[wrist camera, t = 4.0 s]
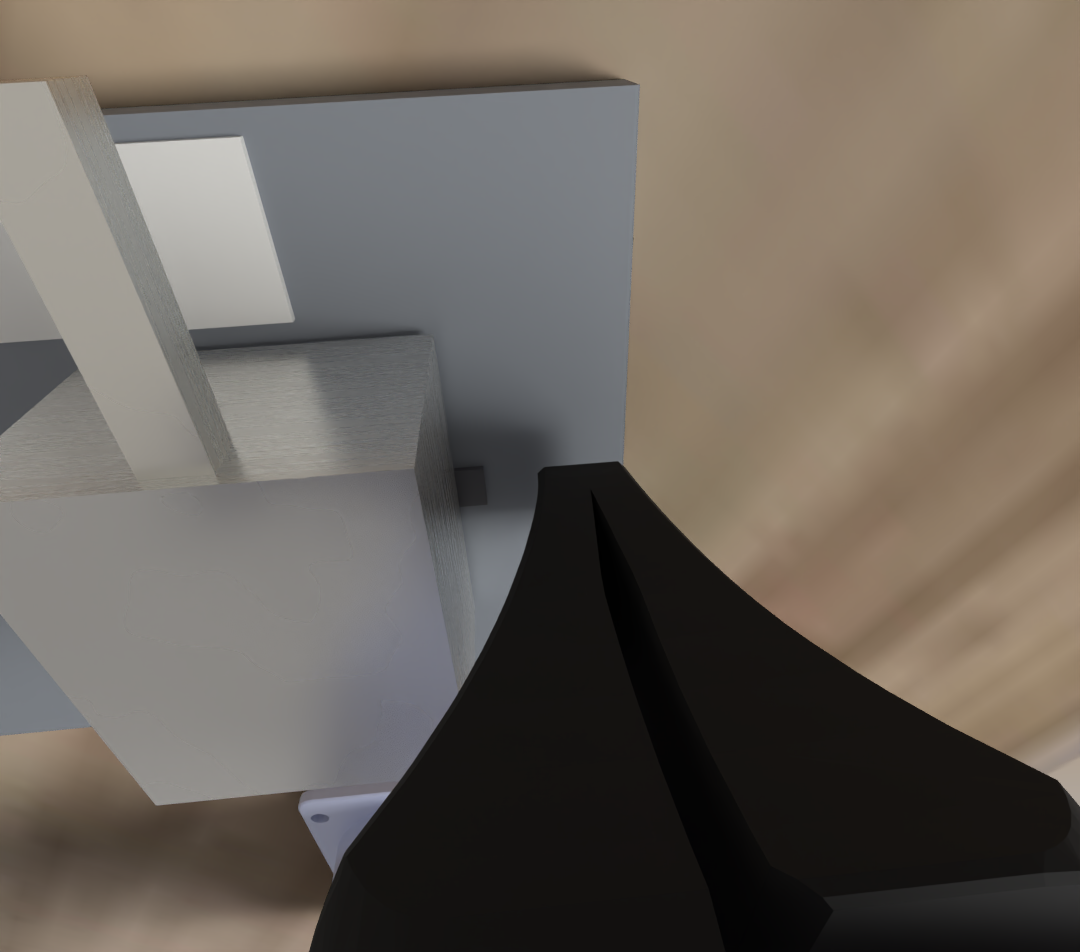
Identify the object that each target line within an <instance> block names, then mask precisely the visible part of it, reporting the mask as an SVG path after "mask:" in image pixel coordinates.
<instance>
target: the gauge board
mask: <svg viewBox="0 0 1080 952" xmlns="http://www.w3.org/2000/svg"><path fill="white" fill-rule="evenodd" d="M639 90H640V85H639V84H636V83H633V82H631V81H628V80H625V79H618V80H601V81H583V82H565V83H548V84H530V85H512V86H495V87H477V88H459V89H442V90H424V91H406V92H389V93H371V94H353V95H336V96H318V97H300V98H283V99H265V100H247V101H230V102H212V103H194V104H177V105H159V106H141V107H124V108H106V109H101V111H102V113H103V116H104V118H105V121H106V123H107V126H108V128H109V131H110V134H111V136H112V139H113V141H114V144H115V146H116V149H117V151H118V154H119V156H120V159H121V161H122V164H123V166H124V169H125V171H126V174H127V176H128V179H129V182H130V184H131V187H132V189H133V192H134V194H135V197H136V199H137V202H138V204H139V207H140V209H141V212H142V214H143V217H144V219H145V222H146V224H147V227H148V230H149V232H150V235H151V237H152V240H153V242H154V245H155V247H156V250H157V252H158V255H159V257H160V260H161V262H162V265H163V267H164V270H165V273H166V275H167V278H168V280H169V283H170V285H171V288H172V290H173V293H174V295H175V298H176V300H177V303H178V305H179V308H180V310H181V313H182V315H183V318H184V321H185V323H186V326H187V328H188V331H189V333H190V336H191V338H192V341H193V343H194V346H195V348H196V351H203V350H217V349H231V348H245V347H258V346H272V345H286V344H300V343H313V342H327V341H341V340H355V339H369V338H382V337H396V336H410V335H424V334H433V336H434V343H435V349H436V356H437V362H438V369H439V375H440V382H441V389H442V395H443V402H444V408H445V415H446V422H447V428H448V435H449V441H450V448H451V454H452V461H453V468H454V474H455V481H456V487H457V494H458V501H459V507H460V514H461V520H462V527H463V533H464V540H465V547H466V553H467V560H468V566H469V573H470V580H471V586H472V593H473V599H474V606H475V662H476V660H477V658H478V657H479V655H480V653H481V651H482V649H483V647H484V645H485V643H486V641H487V639H488V637H489V635H490V633H491V631H492V629H493V627H494V625H495V623H496V621H497V619H498V616H499V614H500V612H501V610H502V607H503V605H504V603H505V601H506V598H507V596H508V593H509V591H510V588H511V586H512V583H513V580H514V578H515V575H516V572H517V570H518V567H519V564H520V562H521V559H522V556H523V553H524V550H525V546H526V543H527V539H528V536H529V532H530V528H531V525H532V521H533V517H534V512H535V507H536V502H537V495H538V474H537V473H538V472H539V471H540V470H541V469H543V468H544V467H550V466H563V465H575V464H588V463H601V462H614V461H618V462H620V463H621V464H622V465H623V454H624V431H625V409H626V386H627V363H628V340H629V318H630V295H631V272H632V249H633V227H634V204H635V181H636V158H637V135H638V113H639ZM77 369H78V367H77V365H76V363H75V361H74V359H73V357H72V355H71V353H70V352H69V350H68V348H67V346H66V344H65V342H64V340H63V338H62V336H61V334H60V333H59V331H58V329H57V327H56V325H55V323H54V321H53V319H52V317H51V315H50V314H49V312H48V310H47V308H46V306H45V304H44V302H43V300H42V298H41V296H40V294H39V293H38V291H37V289H36V287H35V285H34V283H33V281H32V279H31V277H30V275H29V274H28V272H27V270H26V268H25V266H24V264H23V262H22V260H21V258H20V256H19V255H18V253H17V251H16V249H15V247H14V245H13V243H12V241H11V239H10V237H9V235H8V234H7V232H6V230H5V228H4V226H3V224H2V222H1V220H0V436H1V435H2V434H3V433H4V432H5V431H6V430H7V429H9V428H10V427H11V426H12V425H13V424H14V423H16V422H17V421H18V420H19V419H20V418H21V417H23V416H24V415H25V414H26V413H27V412H28V411H29V410H31V409H32V408H33V407H34V406H35V405H36V404H38V403H39V402H40V401H41V400H42V399H43V398H45V397H46V396H47V395H48V394H49V393H50V392H51V391H53V390H54V389H55V388H56V387H57V386H58V385H60V384H61V383H62V382H63V381H64V380H65V379H67V378H68V377H69V376H70V375H71V374H72V373H73V372H75V371H76V370H77ZM84 727H92V726H91V725H90V724H89V723H88V721H87V720H86V719H85V718H84V716H83V715H82V714H81V713H80V712H79V710H78V709H77V708H76V707H75V705H74V704H73V703H72V702H71V700H70V699H69V698H68V697H67V696H66V694H65V693H64V692H63V691H62V689H61V688H60V687H59V686H58V685H57V683H56V682H55V681H54V680H53V678H52V677H51V676H50V675H49V673H48V672H47V671H46V670H45V669H44V667H43V666H42V665H41V664H40V662H39V661H38V660H37V659H36V657H35V656H34V655H33V654H32V653H31V651H30V650H29V649H28V648H27V646H26V645H25V644H24V643H23V641H22V640H21V639H20V638H19V637H18V635H17V634H16V633H15V632H14V630H13V629H12V628H11V627H10V626H9V624H8V623H7V622H6V621H5V619H4V618H3V617H2V616H1V614H0V736H1V735H12V734H22V733H32V732H43V731H53V730H64V729H74V728H84Z"/></svg>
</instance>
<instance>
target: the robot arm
mask: <svg viewBox="0 0 1080 952" xmlns="http://www.w3.org/2000/svg"><path fill="white" fill-rule="evenodd" d="M537 474H538V495H537V502H536V507H535V512H534V517H533V521H532V525H531V528H530V532H529V536H528V539H527V543H526V546H525V550H524V553H523V556H522V559H521V562H520V564H519V567H518V570H517V572H516V575H515V578H514V580H513V583H512V586H511V588H510V591H509V593H508V596H507V598H506V601H505V603H504V605H503V607H502V610H501V612H500V614H499V616H498V619H497V621H496V623H495V625H494V627H493V629H492V631H491V633H490V635H489V637H488V639H487V641H486V643H485V645H484V647H483V649H482V651H481V653H480V655H479V657H478V658H477V660H476V662H475V664H474V666H473V667H472V669H471V671H470V673H469V675H468V677H467V678H466V680H465V682H464V684H463V685H462V687H461V689H460V690H459V692H458V694H457V696H456V697H455V699H454V701H453V702H452V704H451V705H450V707H449V709H448V710H447V712H446V713H445V715H444V716H443V718H442V719H441V721H440V722H439V724H438V725H437V727H436V728H435V730H434V731H433V733H432V734H431V736H430V737H429V739H428V740H427V742H426V743H425V745H424V746H423V748H422V749H421V751H420V752H419V754H418V755H417V757H416V758H415V760H414V761H413V763H412V764H411V766H410V767H409V768H408V770H407V771H406V773H405V774H404V775H403V777H402V778H401V780H400V781H393V782H384V783H374V784H364V785H354V786H344V787H334V788H325V789H315V790H308V791H306V792H304V793H303V794H302V795H301V796H300V801H299V805H298V810H299V812H300V814H301V816H302V817H303V819H304V821H305V823H306V825H307V826H308V828H309V830H310V832H311V834H312V836H313V837H314V839H315V841H316V843H317V845H318V847H319V848H320V850H321V852H322V854H323V856H324V857H325V859H326V861H327V863H328V865H329V867H330V868H331V870H332V872H333V880H332V884H331V887H330V890H329V892H328V895H327V897H326V900H325V903H324V906H323V909H322V911H321V914H320V917H319V920H318V923H317V926H316V929H315V932H314V936H313V940H312V943H311V947H310V950H309V952H1080V806H1079V805H1078V804H1077V803H1076V802H1075V800H1074V799H1073V798H1072V797H1071V796H1070V794H1069V793H1068V792H1067V791H1066V790H1065V789H1064V788H1063V786H1062V785H1061V784H1060V783H1059V782H1058V781H1057V780H1056V779H1054V778H1052V777H1050V776H1048V775H1046V774H1044V773H1042V772H1040V771H1038V770H1036V769H1034V768H1032V767H1030V766H1028V765H1026V764H1024V763H1022V762H1020V761H1018V760H1016V759H1014V758H1012V757H1010V756H1008V755H1006V754H1004V753H1002V752H1000V751H998V750H996V749H994V748H992V747H990V746H988V745H986V744H984V743H982V742H980V741H978V740H976V739H974V738H972V737H970V736H968V735H966V734H964V733H962V732H960V731H958V730H956V729H954V728H952V727H951V726H949V725H947V724H945V723H943V722H941V721H940V720H938V719H936V718H934V717H932V716H931V715H929V714H927V713H925V712H924V711H922V710H920V709H918V708H917V707H915V706H913V705H911V704H910V703H908V702H906V701H904V700H903V699H901V698H899V697H897V696H896V695H894V694H892V693H890V692H889V691H887V690H885V689H884V688H882V687H880V686H879V685H877V684H875V683H874V682H872V681H871V680H869V679H867V678H866V677H864V676H862V675H861V674H859V673H857V672H856V671H854V670H853V669H851V668H850V667H848V666H847V665H845V664H844V663H842V662H841V661H839V660H838V659H836V658H835V657H833V656H832V655H830V654H829V653H827V652H826V651H824V650H823V649H821V648H820V647H818V646H816V645H815V644H813V643H812V642H810V641H809V640H807V639H806V638H805V637H803V636H802V635H800V634H799V633H798V632H796V631H795V630H793V629H792V628H791V627H789V626H788V625H786V624H785V623H784V622H782V621H781V620H780V619H779V618H777V617H776V616H775V615H773V614H772V613H771V612H769V611H768V610H767V609H766V608H764V607H763V606H762V605H760V604H759V603H758V602H757V601H755V600H754V599H753V598H752V597H751V596H749V595H748V594H747V593H746V592H745V591H743V590H742V589H741V588H740V587H739V586H738V585H737V584H735V583H734V582H733V581H732V580H731V579H730V578H729V577H727V576H726V575H725V574H724V573H723V572H722V571H721V570H720V569H719V568H718V567H717V566H715V565H714V564H713V563H712V562H711V561H710V560H709V559H708V558H707V557H706V556H705V555H704V554H703V553H702V552H701V551H700V550H699V549H698V548H697V547H695V546H694V545H693V543H692V542H691V541H690V540H689V539H688V538H687V537H686V536H685V535H684V534H683V533H682V532H681V531H680V530H679V529H678V528H677V527H676V526H675V525H674V524H673V523H672V522H671V521H670V520H669V519H668V517H667V516H666V515H665V514H664V513H663V512H662V511H661V510H660V509H659V508H658V506H657V505H656V504H655V503H654V502H653V501H652V500H651V498H650V497H649V496H648V495H647V494H646V493H645V491H644V490H643V489H642V488H641V487H640V486H639V484H638V483H637V482H636V481H635V479H634V478H633V477H632V476H631V475H630V473H629V472H628V471H627V470H626V468H625V467H624V466H623V465H622V464H621V463H620V462H618V461H614V462H601V463H588V464H575V465H563V466H550V467H544V468H543V469H541V470H540V471H539V472H538V473H537Z"/></svg>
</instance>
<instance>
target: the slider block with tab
mask: <svg viewBox="0 0 1080 952" xmlns="http://www.w3.org/2000/svg"><path fill="white" fill-rule="evenodd" d="M0 220H1V222H2V224H3V226H4V228H5V230H6V232H7V234H8V235H9V237H10V239H11V241H12V243H13V245H14V247H15V249H16V251H17V253H18V255H19V256H20V258H21V260H22V262H23V264H24V266H25V268H26V270H27V272H28V274H29V275H30V277H31V279H32V281H33V283H34V285H35V287H36V289H37V291H38V293H39V294H40V296H41V298H42V300H43V302H44V304H45V306H46V308H47V310H48V312H49V314H50V315H51V317H52V319H53V321H54V323H55V325H56V327H57V329H58V331H59V333H60V334H61V336H62V338H63V340H64V342H65V344H66V346H67V348H68V350H69V352H70V353H71V355H72V357H73V359H74V361H75V363H76V365H77V367H78V369H77V370H76V371H75V372H73V373H72V374H71V375H70V376H69V377H68V378H67V379H65V380H64V381H63V382H62V383H61V384H60V385H58V386H57V387H56V388H55V389H54V390H53V391H51V392H50V393H49V394H48V395H47V396H46V397H45V398H43V399H42V400H41V401H40V402H39V403H38V404H36V405H35V406H34V407H33V408H32V409H31V410H29V411H28V412H27V413H26V414H25V415H24V416H23V417H21V418H20V419H19V420H18V421H17V422H16V423H14V424H13V425H12V426H11V427H10V428H9V429H7V430H6V431H5V432H4V433H3V434H2V435H1V436H0V614H1V616H2V617H3V618H4V619H5V621H6V622H7V623H8V624H9V626H10V627H11V628H12V629H13V630H14V632H15V633H16V634H17V635H18V637H19V638H20V639H21V640H22V641H23V643H24V644H25V645H26V646H27V648H28V649H29V650H30V651H31V653H32V654H33V655H34V656H35V657H36V659H37V660H38V661H39V662H40V664H41V665H42V666H43V667H44V669H45V670H46V671H47V672H48V673H49V675H50V676H51V677H52V678H53V680H54V681H55V682H56V683H57V685H58V686H59V687H60V688H61V689H62V691H63V692H64V693H65V694H66V696H67V697H68V698H69V699H70V700H71V702H72V703H73V704H74V705H75V707H76V708H77V709H78V710H79V712H80V713H81V714H82V715H83V716H84V718H85V719H86V720H87V721H88V723H89V724H90V725H91V726H92V728H93V729H94V730H95V731H96V732H97V734H98V735H99V736H100V737H101V739H102V740H103V741H104V742H105V743H106V745H107V746H108V747H109V748H110V750H111V751H112V752H113V753H114V755H115V756H116V757H117V758H118V759H119V761H120V762H121V763H122V764H123V766H124V767H125V768H126V769H127V771H128V772H129V773H130V774H131V775H132V777H133V778H134V779H135V780H136V782H137V783H138V784H139V785H140V787H141V788H142V789H143V790H144V791H145V793H146V794H147V795H148V796H149V798H150V799H151V800H152V801H153V802H154V804H155V805H156V806H158V805H167V804H177V803H187V802H197V801H207V800H217V799H226V798H236V797H246V796H256V795H266V794H275V793H285V792H295V791H305V790H315V789H325V788H334V787H344V786H354V785H364V784H374V783H384V782H393V781H400V780H401V778H402V777H403V775H404V774H405V773H406V771H407V770H408V768H409V767H410V766H411V764H412V763H413V761H414V760H415V758H416V757H417V755H418V754H419V752H420V751H421V749H422V748H423V746H424V745H425V743H426V742H427V740H428V739H429V737H430V736H431V734H432V733H433V731H434V730H435V728H436V727H437V725H438V724H439V722H440V721H441V719H442V718H443V716H444V715H445V713H446V712H447V710H448V709H449V707H450V705H451V704H452V702H453V701H454V699H455V697H456V696H457V694H458V692H459V690H460V689H461V687H462V685H463V684H464V682H465V680H466V678H467V677H468V675H469V673H470V671H471V669H472V667H473V666H474V664H475V606H474V599H473V593H472V586H471V580H470V573H469V566H468V560H467V553H466V547H465V540H464V533H463V527H462V520H461V514H460V507H459V501H458V494H457V487H456V481H455V474H454V468H453V461H452V454H451V448H450V441H449V435H448V428H447V422H446V415H445V408H444V402H443V395H442V389H441V382H440V375H439V369H438V362H437V356H436V349H435V343H434V336H433V334H424V335H410V336H396V337H382V338H369V339H355V340H341V341H327V342H313V343H300V344H286V345H272V346H258V347H245V348H231V349H217V350H203V351H196V348H195V346H194V343H193V341H192V338H191V336H190V333H189V331H188V328H187V326H186V323H185V321H184V318H183V315H182V313H181V310H180V308H179V305H178V303H177V300H176V298H175V295H174V293H173V290H172V288H171V285H170V283H169V280H168V278H167V275H166V273H165V270H164V267H163V265H162V262H161V260H160V257H159V255H158V252H157V250H156V247H155V245H154V242H153V240H152V237H151V235H150V232H149V230H148V227H147V224H146V222H145V219H144V217H143V214H142V212H141V209H140V207H139V204H138V202H137V199H136V197H135V194H134V192H133V189H132V187H131V184H130V182H129V179H128V176H127V174H126V171H125V169H124V166H123V164H122V161H121V159H120V156H119V154H118V151H117V149H116V146H115V144H114V141H113V139H112V136H111V134H110V131H109V128H108V126H107V123H106V121H105V118H104V116H103V113H102V111H101V108H100V106H99V103H98V101H97V98H96V96H95V93H94V91H93V88H92V85H91V83H90V80H89V78H88V76H73V77H54V78H36V79H18V80H0Z"/></svg>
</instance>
